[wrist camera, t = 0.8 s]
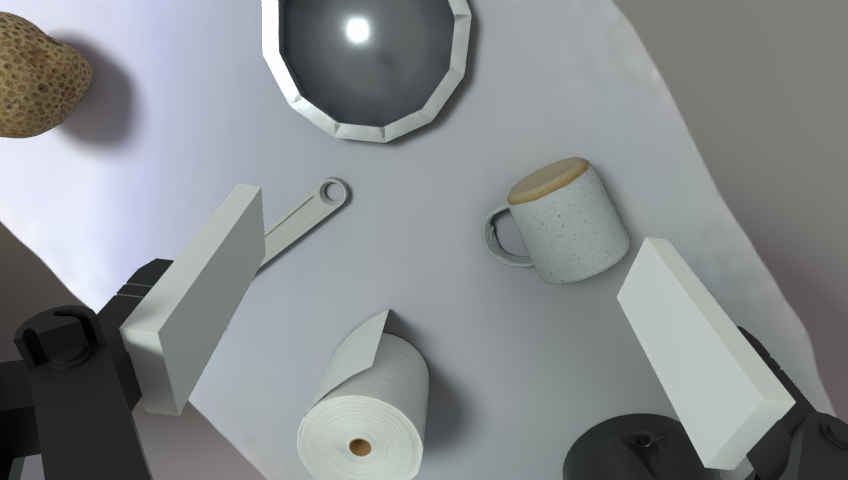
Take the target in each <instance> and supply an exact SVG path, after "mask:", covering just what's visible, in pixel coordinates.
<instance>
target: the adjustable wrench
mask: <svg viewBox="0 0 848 480" xmlns="http://www.w3.org/2000/svg"><path fill="white" fill-rule="evenodd" d="M329 183H336V184H338V185H339V186H340V187H341V188H342V191H343V194H342V197H341V198H340V199H339V200H337V201H332V200H329V199H328V198H327V197H326V195H325V187H326V186H327V185H328V184H329ZM347 197H348V187H347V185H346V183H345V182H344V181H343V180H342V179H340V178H337V177H330V178H327V179H326V180H324V181H323V182H321V183H320V184H319V185H318V186H317V187H315V188H314V189H313V190H312V191H311V192H310V193H308V194H307V195H306V196H305V197H304V198H302V199H301V200H300V201H299V202H298V203H297V204H295V205H294V206H293V207H292V208H291V209H290V210H288V211H287V212H286V213H285V214H284V215H283V216H281V217H280V218H279V219H278V220H277V221H276V222H274V223H273V224H272V225H271V226H270V227H269V228H267V229H266V230H265V231H264V235H265V250H266V256H265V258H264V259H263V261H262V263H261V265H260V267H261V266H262V265H264V264H265V263H266V262H268V261H269V260H270V259H272V258H273V257H274V256H275V255H277V254H278V253H279V252H281V251H282V250H283V249H285V248H286V247H287V246H288V245H290V244H291V243H292V242H294V241H295V240H296V239H298V238H299V237H300V236H301V235H303V234H304V233H305V232H307V231H308V230H309V229H311V228H312V227H313V226H314V225H316V224H317V223H318V222H320V221H321V220H322V219H324V218H325V217H326V216H327V215H329V214H330V213H331V212H333V211H334V210H335V209H337V208H338V207H339V206H341V205H342V204H343V203H344V202H345V200H346V199H347ZM260 267H259V268H260Z"/></svg>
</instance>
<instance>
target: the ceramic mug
mask: <svg viewBox="0 0 848 480" xmlns="http://www.w3.org/2000/svg"><path fill="white" fill-rule="evenodd" d="M508 208H509V209H510V212H511V215H512V217H513V220H514V222H515V224H516V226H517V228H518V230H519V232H520V234H521V236H522V238H523V241H524V243H525V246H526V248H527V250H528V253H529V255H530V257H521V256H514V255H511V254H508V253H507V252H505V251H503V250H502V248H501V247H500V246H499V244H498V241H497V239H496V237H495V234H494V227H493V226H492V224H491V220H492V218H493V216H494V215H496V214H497V213H499V212H501V211H502V210H505V209H508ZM482 236H483V240H484V243H485V245H486V247H487V249H488V251H489V252H490V254H491V255H492V256H493V257H494V258H495V259H497V260H498V261H500V262H502V263H505V264H507V265H511V266H517V267H528V266H535V268H536V270H537V273H538V275H539V277H540V278H541V279H542V280H543V281H545V282H547V283H551V284H566V283H572V282H577V281H581V280H584V279H587V278H590V277H593V276H595V275H597V274H600V273H601V272H603V271H605V270H607V269H609V268H610V267H612V266H614V265H615V264H617V263H618V262H619V261H620V260H621V259H623V257H624V256H625V255H626V253H627V252H628V250H629V248H630V239H629V237H628V235H627V233H626V231H625V229H624V227H623V225H622V223H621V221H620V219H619V217H618V214H617V212H616V210H615V208H614V206H613V204H612V202H611V201H610V199H609V197H608V195H607V193H606V191H605V188H604V186H603V184H602V182H601V180H600V178H599V176H598V174H597V173H596V171H595V170H594V169H593V167H592V166H591V164H590V163H589V162H588V161H587V160H585V159H583V158H579V157H573V158H568V159H565V160H561V161H558V162H556V163H553V164H551V165H548V166H546V167H544V168H542V169H540V170H538V171H536V172H534V173H532V174H531V175H529V176H527V177H525V178H524V179H522V180H521V181H520V182H518V183H517V184H516V185H515V186H514V187H513V188H512V189H511V190H510V192H509V195H508V200H507V201H504V202H502V203H500V204H499V205H497V206H496V207H495V208H493V209H492V211H491V212H490V213H489V214H488V215H487V217H486V219H485V221H484V223H483V228H482Z"/></svg>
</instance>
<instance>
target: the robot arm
mask: <svg viewBox="0 0 848 480" xmlns="http://www.w3.org/2000/svg"><path fill="white" fill-rule="evenodd" d="M265 256H266V250H265V235H264V220H263V205H262V190H261V187H257V186H249V185H242V184H237V185H236V186H235V188H234V189H233V190H232V191H231V193H230V194H229V195H228V196H227V197H226V199H225V200H224V201H223V202H222V204H221V205H220V206H219V207H218V208H217V210H216V211H215V212H214V213H213V214H212V216H211V217H210V218H209V219H208V221H207V222H206V223H205V224H204V225H203V227H202V228H201V229H200V230H199V232H198V233H197V234H196V235H195V236H194V238H193V239H192V240H191V241H190V243H189V244H188V245H187V246H186V247H185V249H184V250H183V251H182V252H181V253H180V255H179V256H178V257H177V258H176V260H175V261H173V260H165V259H155V260H153V261H151V262H150V263H148V264H146V265H144V266H143V267H141V268H139V269H138V270H137V271H136V272H135V273H134V274H133V275H132V277H131V278H130V279H129V280H128V281H127V283H126V285H123V286H122V288H121V289H120V290H119V291H118V292H117V295H116V296H115V295H114V296H113V297H112V298H111V300H110V301H109V302H108V303H107V304H106V305H105V306H104V307H103V308H102V309H101V311H100V312H99V313H98V314H97V315H96V314H95V312H94V311H93V310H92V309H90V308H87V307H84V306H74V305H67V306H61V307H56V308H52V309H49V310H46V311H44V312H41V313H38V314H36V315H35V316H33V317H32V318H30V319H29V320H27V321H25V322H24V323H23V324H22V325H21V327H20V328H19V329H18V330H17V331H16V334H15V338H14V342H15V344H16V346H17V348H18V350H19V352H20V354H21V356H22V358H23V360H17V361H10V362H2V363H0V480H20V477H21V472H22V468H23V464H24V460H25V457H26V456H30V455H36V454H41V456H42V463H43V469H44V476H45V480H153V478H152V475H151V472H150V469H149V466H148V463H147V460H146V456H145V453H144V450H143V447H142V444H141V441H140V438H139V435H138V432H137V429H136V426H135V423H134V420H133V417H132V414H131V412H132V410H133V409H134V407H135V406H136V404H137V403H138V401H139V399H140V398H142V402H143V405H144V408H145V411H146V412H148V413H158V414H168V415H178V416H179V415H180V413H181V411H182V409H183V407H184V405H185V404H186V402H187V400H188V398H189V396H190V394H191V392H192V391H193V389H194V387H195V385H196V383H197V381H198V380H199V378H200V376H201V374H202V372H203V370H204V368H205V367H206V365H207V363H208V361H209V359H210V357H211V355H212V354H213V352H214V350H215V348H216V346H217V344H218V343H219V341H220V339H221V337H222V335H223V333H224V331H225V330H226V328H227V326H228V324H229V322H230V320H231V319H232V317H233V315H234V313H235V311H236V309H237V307H238V306H239V304H240V302H241V300H242V298H243V296H244V295H245V293H246V291H247V289H248V287H249V285H250V283H251V282H252V280H253V278H254V276H255V274H256V272H257V270H258V269H259V267H260V265H261V263H262V261H263V259H264V258H265ZM617 299H618V301H619V303H620V305H621V307H622V309H623V311H624V313H625V315H626V317H627V318H628V320H629V322H630V324H631V326H632V328H633V330H634V332H635V334H636V336H637V338H638V340H639V342H640V344H641V345H642V347H643V349H644V351H645V353H646V355H647V357H648V359H649V361H650V363H651V365H652V367H653V369H654V371H655V372H656V374H657V376H658V378H659V380H660V382H661V384H662V386H663V388H664V390H665V392H666V394H667V396H668V398H669V399H670V401H671V403H672V405H673V407H674V409H675V411H676V413H677V415H678V417H679V419H680V421H681V423H682V424H681V423H679V422H677V421H675V420H672V419H669V418H666V417H662V416H656V415H648V414H636V415H627V416H621V417H617V418H613V419H610V420H608V421H605V422H603V423H601V424H598V425H597V426H595V427H593V428H592V429H590V430H588V431H587V432H586V433H584V434H583V435H582V436H581V437H580V438H579V439H578V440H577V441H576V442H575V443H574V445H573V446H572V447H571V449H570V451H569V452H568V454H567V457H566V459H565V462H564V466H563V480H721V478H720V474H719V470H718V469H725V470H734V469H735V468H736V467H737V466H738V465H739V464H740V462H741V461H742V460H743V459H744V458H745V457H746V456H747V458H748V460H749V461H750V463H751V465H752V466H753V468H754V470H753V471H752V472H751V473H750V474H749V475H748V477H747V478H746V479H745V480H848V424H846V423H845V422H843V421H841V420H840V419H838V418H835V417H833V416H831V415H829V414H825V413H820V412H817V411H816V410H815V409H814V408H813V406H812V405H811V404H810V403H809V401H808V400H807V399H806V398H805V397H804V395H803V394H802V393H801V392H800V390H799V389H798V388H797V387H796V386H795V384H794V383H793V382H792V381H791V380H790V378H789V377H788V376H787V375H786V373H785V372H784V371H783V370H780V366H779V365H778V364H777V362H776V361H775V360H774V359H773V358H770V354H769V353H768V352H767V350H766V349H765V348H764V347H763V345H762V344H761V343H760V342H759V341H758V340H757V339H756V338H755V337H753V336H752V335H751V334H750V333H748V332H747V331H746V330H745V329H743V328H742V327H739V326H735V324H734V323H733V322H732V321H731V319H730V318H729V317H728V316H727V314H726V313H725V312H724V311H723V309H722V308H721V307H720V305H719V304H718V303H717V302H716V300H715V299H714V298H713V297H712V295H711V294H710V293H709V292H708V290H707V289H706V288H705V287H704V285H703V284H702V283H701V282H700V280H699V279H698V278H697V276H696V275H695V274H694V273H693V271H692V270H691V269H690V268H689V266H688V265H687V264H686V263H685V261H684V260H683V259H682V258H681V256H680V255H679V254H678V252H677V251H676V250H675V249H674V247H673V246H672V245H671V244H670V242H669V241H668V240H666V239H658V238H650V237H646V238H645V240H644V242H643V244H642V246H641V248H640V250H639V253H638V255H637V257H636V259H635V261H634V263H633V265H632V267H631V269H630V271H629V273H628V275H627V277H626V279H625V281H624V283H623V285H622V287H621V290H620V292H619V294H618V296H617Z"/></svg>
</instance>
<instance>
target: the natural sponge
mask: <svg viewBox="0 0 848 480" xmlns="http://www.w3.org/2000/svg"><path fill="white" fill-rule="evenodd" d="M92 77H93V70H92V68H91V66H90V64H89V62H88V61H87V60H86V59H85V57H84V56H83V55H81V54H80V53H79V52H78V51H76V50H75V49H74V48H72V47H71V46H69V45H67V44H65V43H63V42H61V41H58V40H56V39H54V38H52V37H50V36H48V35H46V34H45V33H44V32H43V31H42V30H40V29H39V28H38V27H37V26H36V25H34V24H33V23H31V22H29V21H28V20H26V19H24V18H22V17H19V16H17V15H14V14H10V13H7V12H0V137H8V138H28V137H34V136H37V135H40V134H42V133H44V132H46V131H48V130H50V129H52V128H54V127H56V126H57V125H59V124H61V123H62V122H64V121H65V120H66V119H67V118H68V117H69V116H70V115H71V113H72V112H73V111H74V109H75V107H76V106H77V104H78V103H79V101H80V99H81V98H82V97H83V96H84V94H85V92H86V91H87V90H88V88H89V86H90V84H91V81H92Z"/></svg>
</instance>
